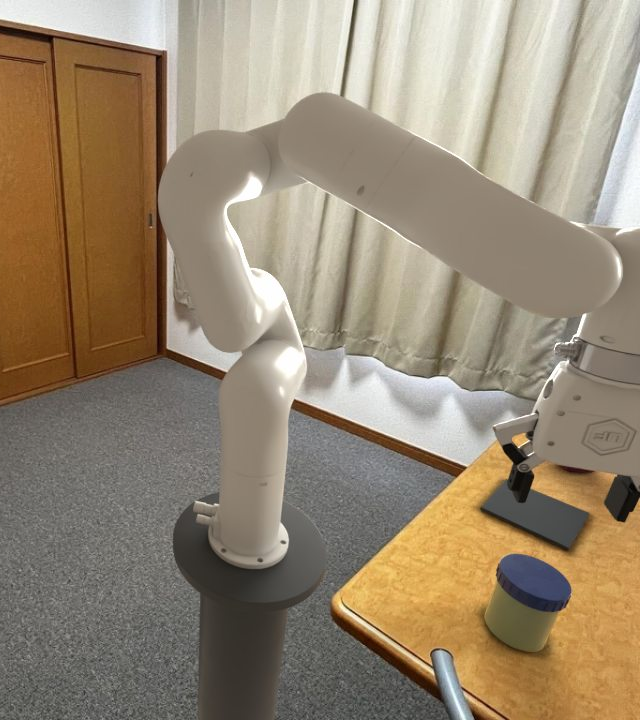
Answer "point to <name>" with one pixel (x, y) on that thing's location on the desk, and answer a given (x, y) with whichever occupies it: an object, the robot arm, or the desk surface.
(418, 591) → the desk surface
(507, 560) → the lid
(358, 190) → the robot arm
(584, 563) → the desk surface
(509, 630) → the jar
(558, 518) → the plate
